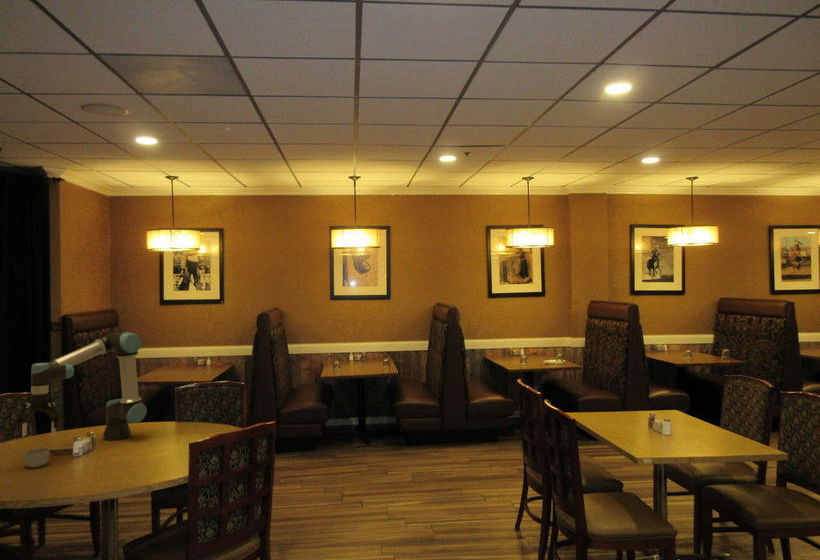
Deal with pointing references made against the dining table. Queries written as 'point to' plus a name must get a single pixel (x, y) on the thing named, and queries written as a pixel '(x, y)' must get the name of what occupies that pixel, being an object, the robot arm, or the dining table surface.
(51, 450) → the stop bar
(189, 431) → the dining table surface
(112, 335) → the robot arm
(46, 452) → the teacup
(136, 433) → the dining table surface
